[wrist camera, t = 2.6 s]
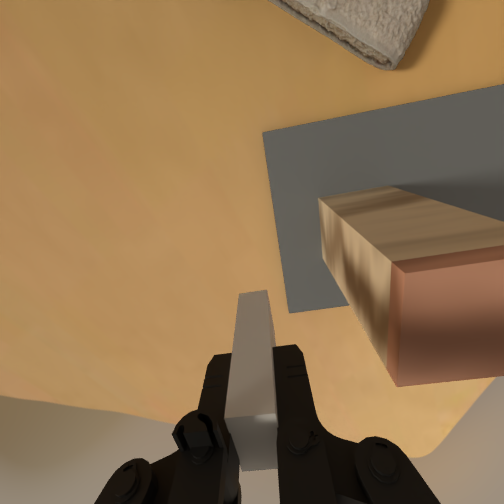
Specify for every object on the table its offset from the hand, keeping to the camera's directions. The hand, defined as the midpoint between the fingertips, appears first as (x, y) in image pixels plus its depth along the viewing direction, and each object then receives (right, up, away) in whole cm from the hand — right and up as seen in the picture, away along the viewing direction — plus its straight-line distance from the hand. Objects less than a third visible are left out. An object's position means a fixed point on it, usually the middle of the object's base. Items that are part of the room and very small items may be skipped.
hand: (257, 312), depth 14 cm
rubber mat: (+14, +7, +9) cm, 19 cm away
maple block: (+9, +6, +9) cm, 14 cm away
